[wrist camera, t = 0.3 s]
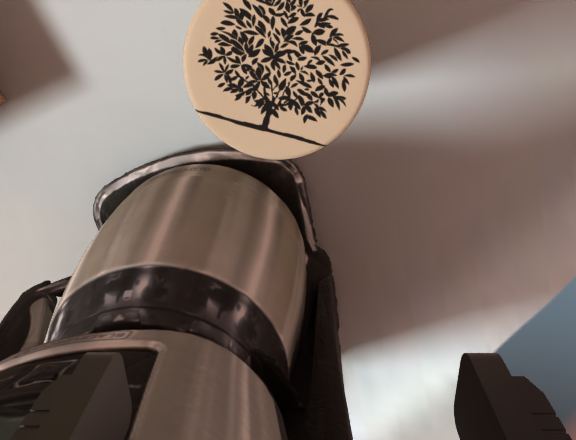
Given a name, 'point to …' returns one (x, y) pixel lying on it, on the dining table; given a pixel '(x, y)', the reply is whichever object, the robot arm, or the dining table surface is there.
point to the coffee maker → (194, 306)
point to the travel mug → (277, 72)
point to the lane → (2, 99)
